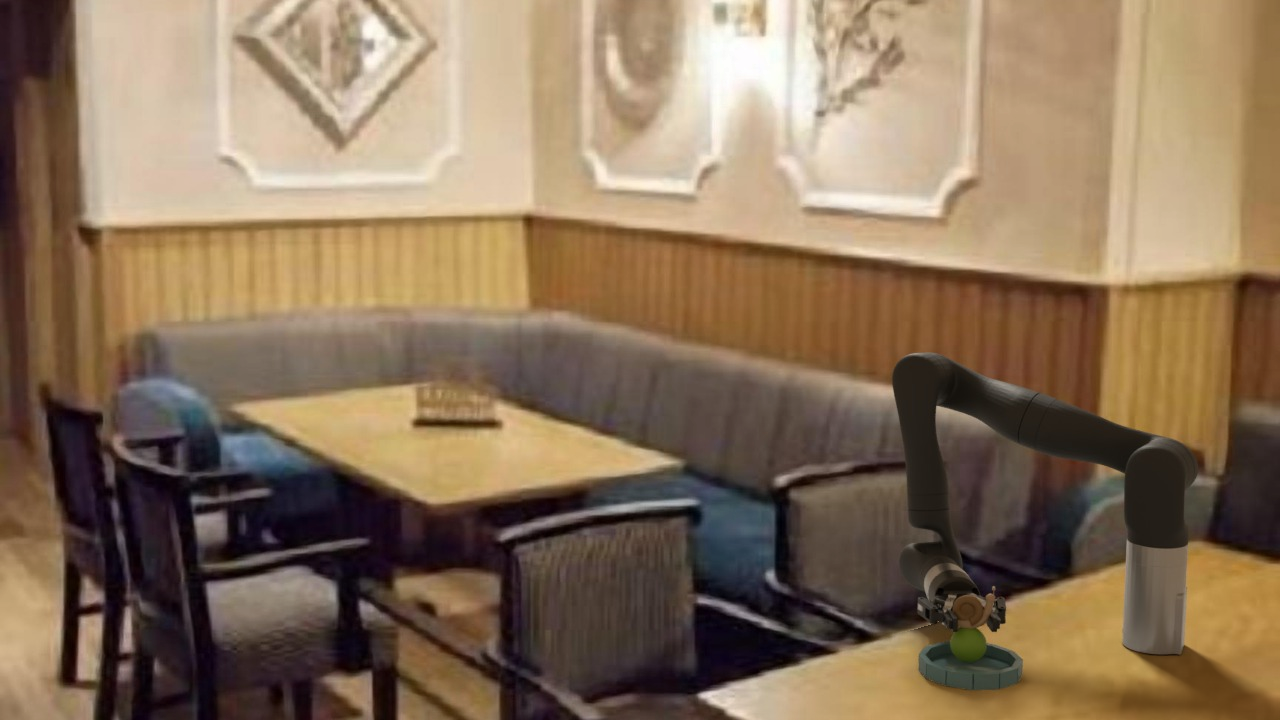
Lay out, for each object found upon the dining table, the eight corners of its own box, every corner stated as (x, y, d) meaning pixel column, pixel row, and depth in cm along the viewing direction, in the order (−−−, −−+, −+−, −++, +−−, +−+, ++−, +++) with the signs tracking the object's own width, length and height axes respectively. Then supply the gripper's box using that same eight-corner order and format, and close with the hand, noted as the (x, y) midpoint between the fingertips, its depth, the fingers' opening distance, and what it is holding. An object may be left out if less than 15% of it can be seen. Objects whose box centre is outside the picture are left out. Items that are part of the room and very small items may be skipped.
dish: (1029, 663, 235) (1029, 648, 235) (1010, 695, 221) (1011, 679, 221) (932, 650, 241) (933, 636, 241) (909, 680, 227) (909, 665, 227)
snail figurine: (992, 669, 228) (996, 592, 226) (949, 666, 229) (952, 589, 227) (992, 657, 233) (995, 581, 231) (949, 653, 234) (952, 578, 232)
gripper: (907, 569, 244) (928, 601, 227) (996, 568, 244) (1024, 601, 227) (905, 614, 245) (926, 650, 228) (994, 613, 245) (1022, 649, 228)
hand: (975, 625), depth 228 cm, fingers closed on snail figurine, 5 cm apart
